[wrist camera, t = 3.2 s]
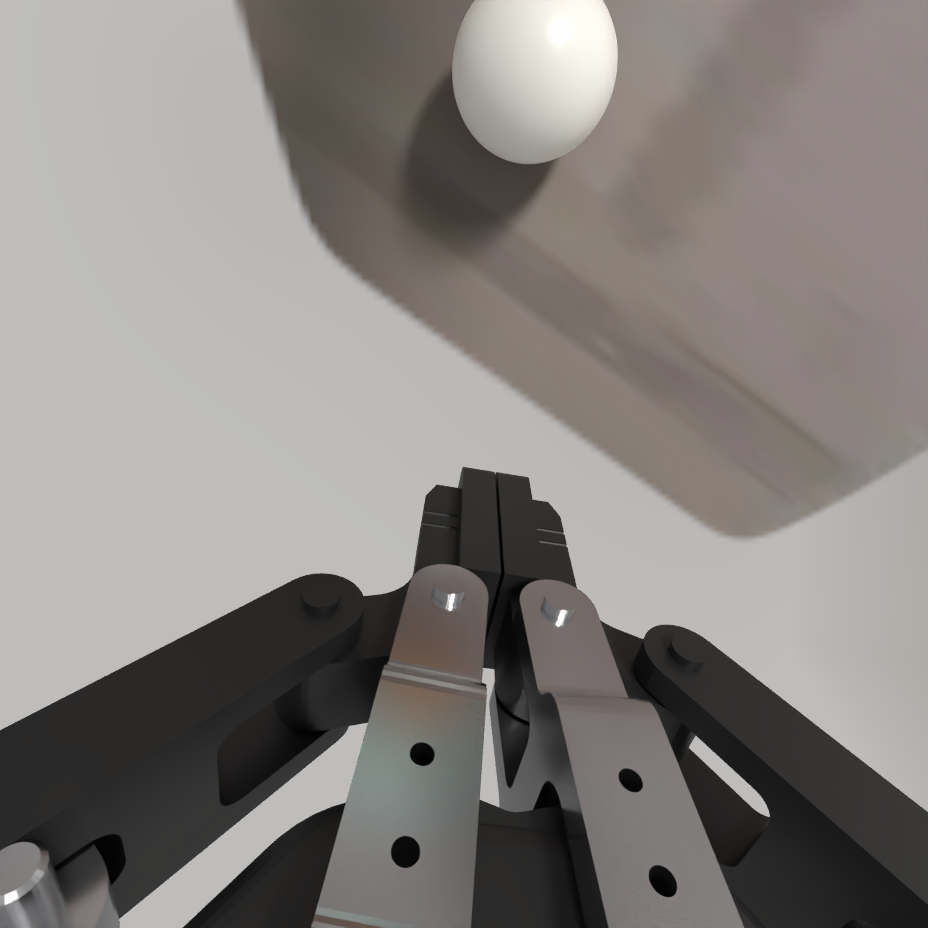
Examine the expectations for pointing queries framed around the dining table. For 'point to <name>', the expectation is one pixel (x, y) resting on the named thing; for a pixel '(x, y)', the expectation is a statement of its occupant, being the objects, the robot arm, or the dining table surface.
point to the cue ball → (534, 74)
